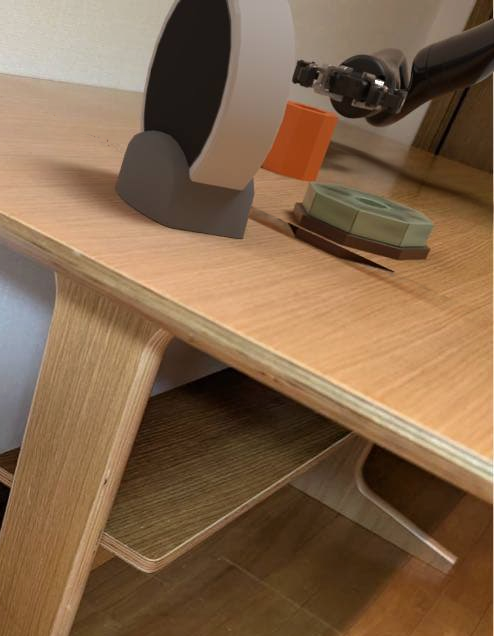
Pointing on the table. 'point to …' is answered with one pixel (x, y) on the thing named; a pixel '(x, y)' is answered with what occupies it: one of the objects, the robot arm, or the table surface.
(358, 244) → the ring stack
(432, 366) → the table surface
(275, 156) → the orange octagonal prism
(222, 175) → the alarm clock
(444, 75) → the robot arm
